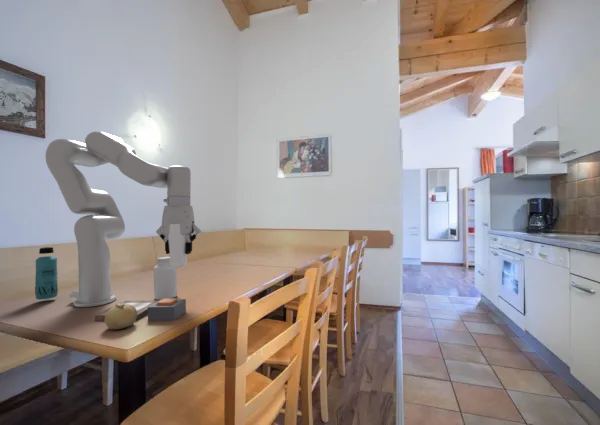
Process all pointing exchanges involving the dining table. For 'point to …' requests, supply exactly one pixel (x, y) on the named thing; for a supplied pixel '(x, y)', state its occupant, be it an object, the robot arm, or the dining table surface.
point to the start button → (167, 302)
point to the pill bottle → (164, 279)
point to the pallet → (139, 305)
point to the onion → (120, 316)
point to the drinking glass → (177, 247)
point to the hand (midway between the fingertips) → (178, 253)
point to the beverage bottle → (46, 275)
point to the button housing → (166, 311)
